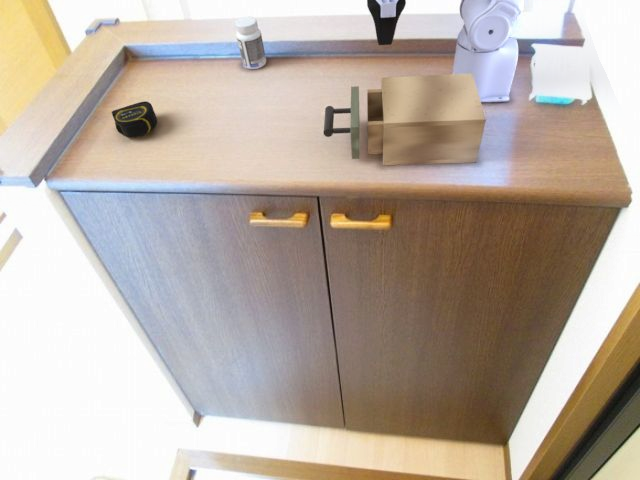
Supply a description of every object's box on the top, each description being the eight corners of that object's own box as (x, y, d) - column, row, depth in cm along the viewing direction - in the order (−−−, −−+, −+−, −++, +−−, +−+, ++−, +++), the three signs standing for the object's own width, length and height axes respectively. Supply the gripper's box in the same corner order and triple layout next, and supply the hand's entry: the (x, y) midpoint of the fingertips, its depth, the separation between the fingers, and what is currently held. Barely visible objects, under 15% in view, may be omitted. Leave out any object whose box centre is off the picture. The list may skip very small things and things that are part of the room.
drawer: (324, 160, 70) (321, 128, 65) (327, 119, 76) (324, 87, 72) (436, 156, 68) (441, 123, 64) (429, 114, 75) (433, 82, 70)
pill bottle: (270, 58, 93) (262, 16, 86) (260, 71, 90) (252, 28, 83) (249, 56, 94) (240, 14, 87) (239, 68, 91) (229, 26, 85)
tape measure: (155, 114, 83) (148, 95, 80) (163, 134, 79) (155, 115, 76) (117, 125, 82) (108, 107, 79) (123, 147, 78) (113, 128, 75)
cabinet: (383, 165, 69) (384, 123, 63) (380, 119, 76) (381, 77, 71) (476, 162, 68) (486, 119, 62) (464, 115, 75) (472, 73, 69)
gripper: (358, -69, 69) (359, 23, 79) (358, -31, 59) (360, 67, 70) (406, -72, 68) (401, 20, 78) (413, -35, 59) (407, 65, 69)
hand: (384, 42), depth 74 cm, fingers closed
